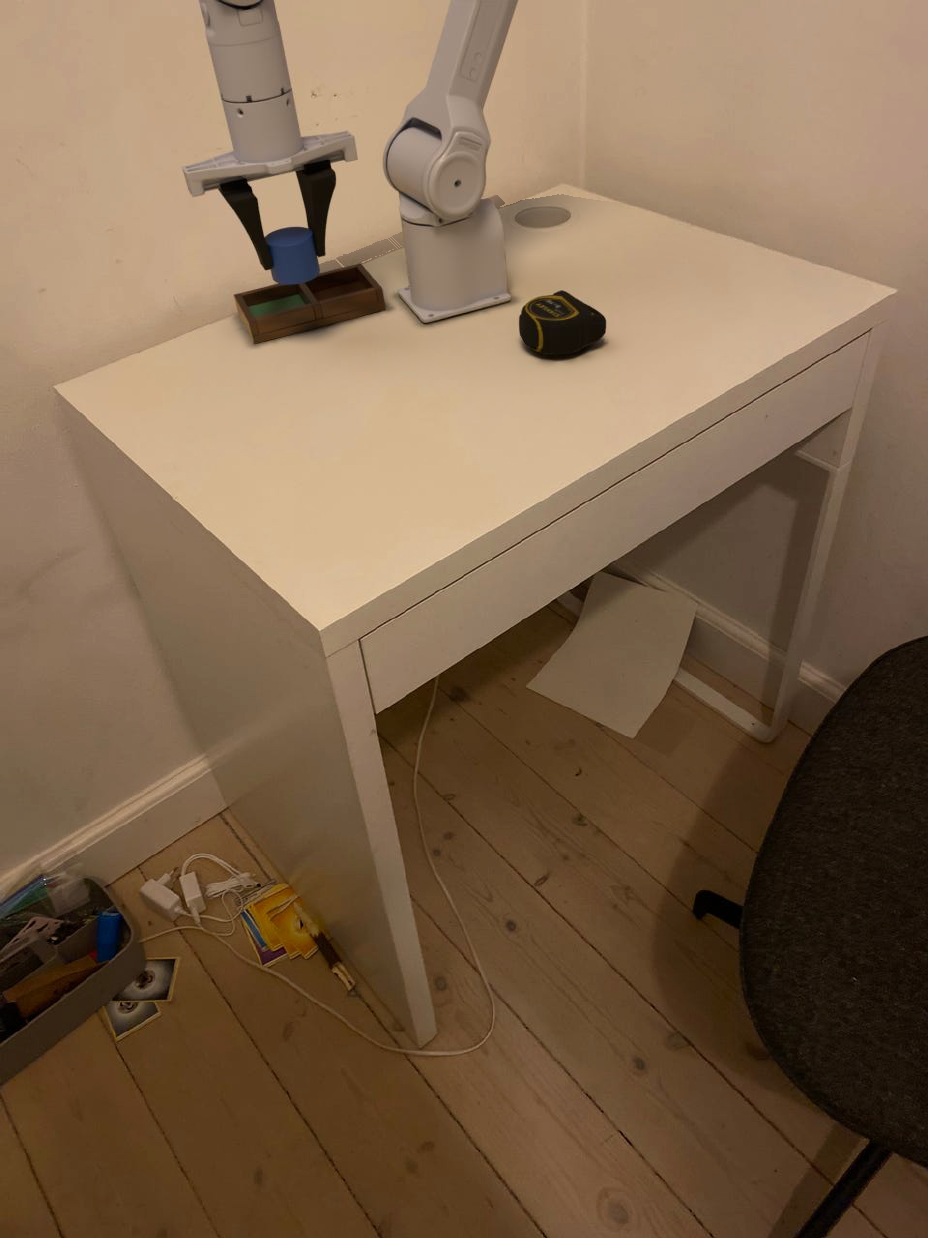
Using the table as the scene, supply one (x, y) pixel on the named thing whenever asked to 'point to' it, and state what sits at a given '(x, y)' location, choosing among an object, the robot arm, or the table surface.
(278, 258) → the cylinder
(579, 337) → the tape measure
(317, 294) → the holder
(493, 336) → the table surface
